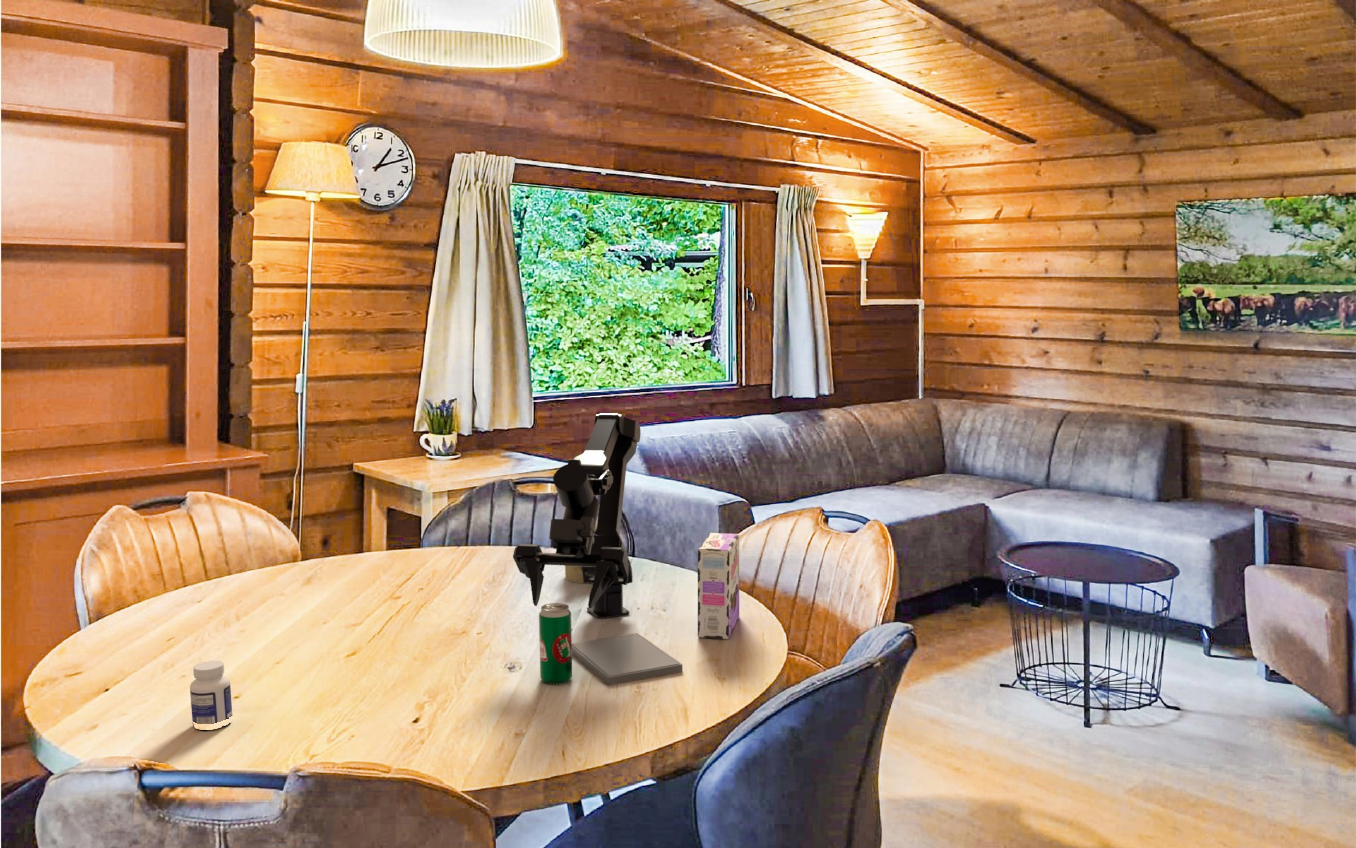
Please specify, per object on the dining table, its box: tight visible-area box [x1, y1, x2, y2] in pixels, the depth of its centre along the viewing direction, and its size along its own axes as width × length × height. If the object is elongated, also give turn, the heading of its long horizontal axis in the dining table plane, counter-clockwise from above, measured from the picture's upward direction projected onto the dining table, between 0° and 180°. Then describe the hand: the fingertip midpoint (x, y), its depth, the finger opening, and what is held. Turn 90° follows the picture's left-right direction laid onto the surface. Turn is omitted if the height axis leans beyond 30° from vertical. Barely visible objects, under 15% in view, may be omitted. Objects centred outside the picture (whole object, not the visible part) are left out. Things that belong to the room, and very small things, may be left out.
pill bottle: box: [189, 659, 233, 724], centre depth 150 cm, size 5×5×9 cm
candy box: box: [697, 532, 740, 640], centre depth 192 cm, size 14×6×16 cm, turn 168°
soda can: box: [538, 602, 573, 685], centre depth 166 cm, size 5×5×12 cm
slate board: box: [572, 632, 683, 686], centre depth 175 cm, size 18×13×1 cm
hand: (562, 606), depth 170 cm, fingers open, 9 cm apart
